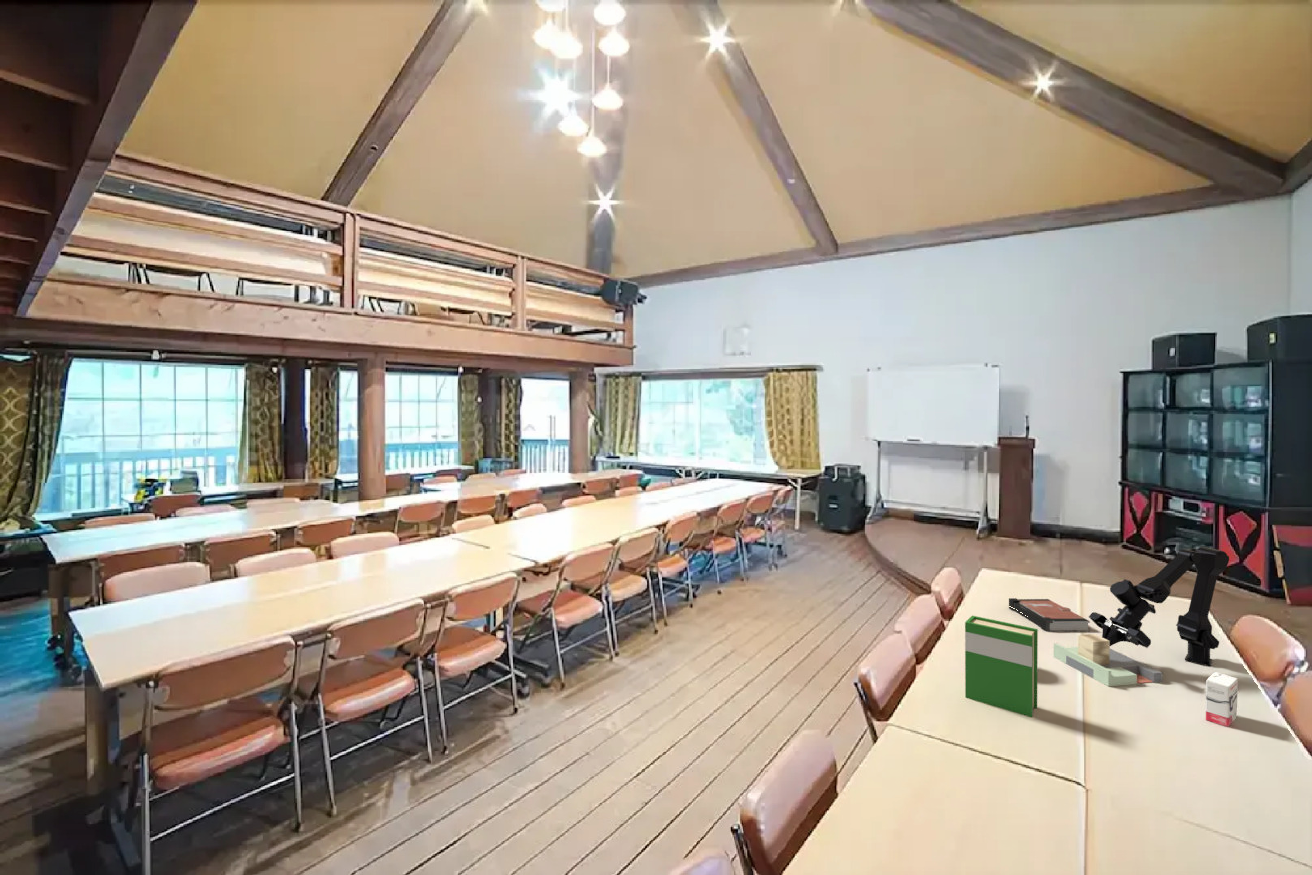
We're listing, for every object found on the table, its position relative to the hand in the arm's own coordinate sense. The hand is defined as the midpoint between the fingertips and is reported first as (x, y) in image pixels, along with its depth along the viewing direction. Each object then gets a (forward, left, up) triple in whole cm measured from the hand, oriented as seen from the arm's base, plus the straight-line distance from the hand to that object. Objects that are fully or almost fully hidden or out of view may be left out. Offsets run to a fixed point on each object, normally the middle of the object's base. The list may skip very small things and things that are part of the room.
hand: (1102, 647), depth 194 cm
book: (-39, -26, -8) cm, 48 cm away
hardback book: (+48, -16, -8) cm, 51 cm away
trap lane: (-1, +1, -7) cm, 8 cm away
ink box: (+14, +30, -8) cm, 34 cm away
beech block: (+3, -2, -4) cm, 6 cm away
